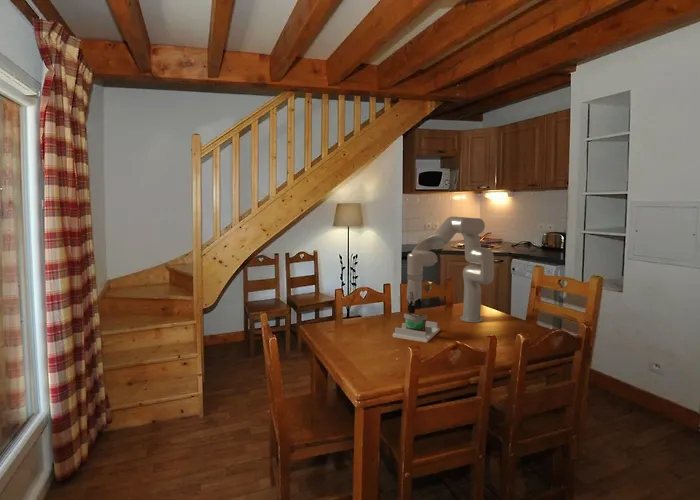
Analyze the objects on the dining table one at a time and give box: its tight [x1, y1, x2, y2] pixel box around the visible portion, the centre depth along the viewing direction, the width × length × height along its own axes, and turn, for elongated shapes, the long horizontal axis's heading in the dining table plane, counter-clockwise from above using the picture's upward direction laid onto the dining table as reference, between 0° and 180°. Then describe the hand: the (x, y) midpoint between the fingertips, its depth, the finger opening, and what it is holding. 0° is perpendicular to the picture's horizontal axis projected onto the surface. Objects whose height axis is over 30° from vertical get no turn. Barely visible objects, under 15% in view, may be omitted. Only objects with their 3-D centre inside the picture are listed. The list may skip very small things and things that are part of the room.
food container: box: [403, 311, 428, 332], centre depth 227 cm, size 12×6×10 cm, turn 62°
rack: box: [392, 320, 441, 343], centre depth 232 cm, size 21×18×4 cm
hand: (414, 310), depth 227 cm, fingers open, 9 cm apart
